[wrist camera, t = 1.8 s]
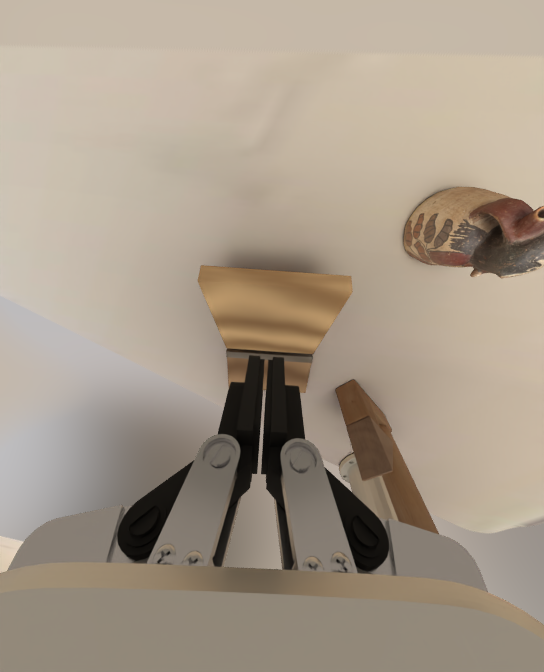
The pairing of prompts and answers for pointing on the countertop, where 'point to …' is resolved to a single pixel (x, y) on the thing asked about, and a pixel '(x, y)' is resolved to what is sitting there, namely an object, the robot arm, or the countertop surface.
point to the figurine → (477, 232)
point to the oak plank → (273, 307)
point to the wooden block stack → (381, 455)
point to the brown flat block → (293, 363)
